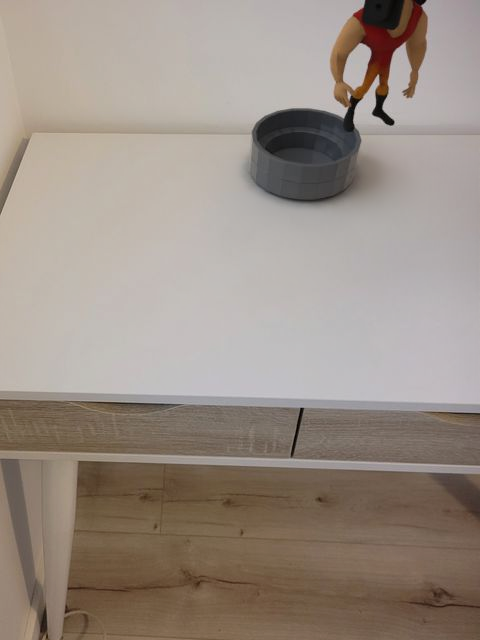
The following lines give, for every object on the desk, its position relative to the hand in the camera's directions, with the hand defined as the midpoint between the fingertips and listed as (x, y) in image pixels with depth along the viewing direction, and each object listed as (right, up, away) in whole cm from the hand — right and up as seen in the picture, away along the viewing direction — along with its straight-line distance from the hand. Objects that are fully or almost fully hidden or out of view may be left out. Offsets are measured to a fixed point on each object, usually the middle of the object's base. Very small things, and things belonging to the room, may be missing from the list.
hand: (394, 11), depth 54 cm
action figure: (0, -7, +8) cm, 11 cm away
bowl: (-2, -5, +31) cm, 31 cm away
